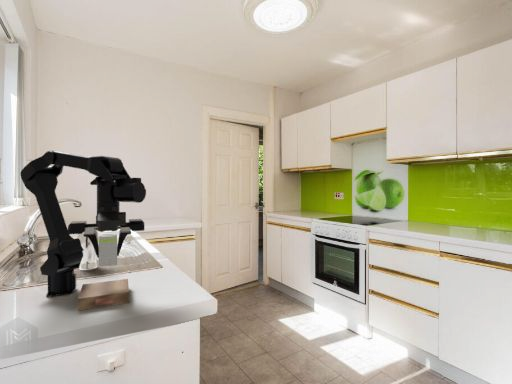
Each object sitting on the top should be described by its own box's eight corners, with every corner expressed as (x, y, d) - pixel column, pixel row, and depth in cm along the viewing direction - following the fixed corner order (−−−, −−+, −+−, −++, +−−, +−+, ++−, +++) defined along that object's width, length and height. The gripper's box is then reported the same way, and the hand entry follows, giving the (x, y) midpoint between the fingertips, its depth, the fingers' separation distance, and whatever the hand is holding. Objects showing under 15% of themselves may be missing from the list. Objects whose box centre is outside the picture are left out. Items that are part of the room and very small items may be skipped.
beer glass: (79, 266, 113) (78, 228, 113) (99, 265, 116) (99, 227, 116) (76, 271, 107) (75, 231, 107) (97, 269, 110) (97, 230, 109)
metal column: (98, 266, 79) (98, 237, 79) (99, 262, 83) (99, 234, 83) (117, 264, 81) (117, 236, 81) (116, 260, 85) (117, 233, 85)
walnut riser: (77, 311, 74) (77, 299, 74) (82, 294, 85) (82, 284, 85) (129, 302, 79) (129, 292, 79) (127, 288, 90) (127, 278, 90)
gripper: (64, 203, 70) (64, 267, 71) (146, 203, 79) (146, 260, 79) (70, 201, 80) (70, 257, 81) (142, 200, 89) (142, 251, 89)
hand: (108, 256), depth 82 cm, fingers closed on metal column, 4 cm apart
